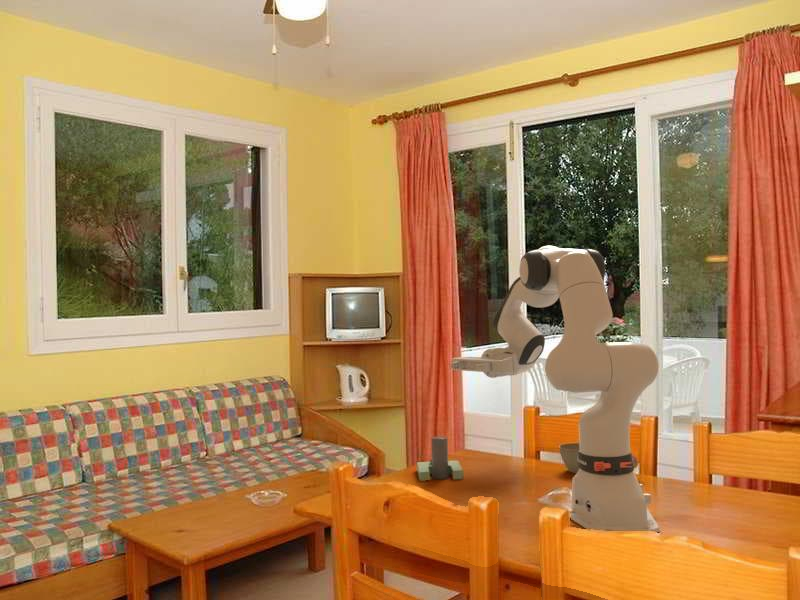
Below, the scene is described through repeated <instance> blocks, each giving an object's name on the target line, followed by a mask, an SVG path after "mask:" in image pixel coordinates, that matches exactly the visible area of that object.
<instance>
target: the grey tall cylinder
mask: <svg viewBox="0 0 800 600" xmlns="http://www.w3.org/2000/svg"><path fill="white" fill-rule="evenodd" d="M430 440H431V441H430V442H431V458H432V474H433V475H432V479H434V478H435V479H434V480H446V479H449V475H450V474H449V473H448V461H449V452H448V451H449V449H448V446H449V445H448V437H446V436H433V437H431V438H430Z"/></svg>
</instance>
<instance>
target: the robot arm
mask: <svg viewBox="0 0 800 600" xmlns="http://www.w3.org/2000/svg"><path fill="white" fill-rule="evenodd" d="M605 276H606V263H605V260H604V257H603V255H602V254H601V253H600V252H599V251H598V250H595V249H590V248H584V249H579V248H562V247H561V248H560V247H557V246H554V245H544V246H541V247H540V248H538V249H533V250H530V251H528V252H525V253H524V254H523V256H522V257H521V259H520V263H519V277H518V278H516V279H515V280H514V281H513V283H512V284H511V286H510V287H509V289H508V291H507V293H506V296H505V297H504V299H503V301H502V303H501V305H500V307H499V308H498V309H497V310H496V312H495V314H494V315H493V317H492V321H491V323H492V324H491V327H492V329H493V330H494V331H495V332H496V334H498V335H499V336H501V337H502V339H503V340H504V341H505V342H506V343H507V344H508V346H505V347H495V348H488V349H486V350H485V351H483V352H482V354H481V356H460V357H453V358H452V359H451V363H450V370H453V371H461V372H462V371H463V372H464V371H465V372H479V373H484V375H485V376H487V377H488V378H491V379H495V378H501V377H505V376H517V375H518V374H522V373H525V372H527V371H529V370H531V369H532V368H533V367H534V366H535V365H536V362H537V360H538V359H539V358H540V357H541V355H542V353H543V351H544V348H545V344H546V341H545V340H546V339H545V335H543V333H541V331H540V330H539V329H538V328H537V326H535V325H534V324H533V323H532V322H531V321H530V320H529V319H528V317H526V316H525V314H524V313H523V312H522V310H521V306H522V303H524V304H526V305H528V306H530V307H533V308H539V309H540V308H546V307H547V308H548V307H550V306H552V305H554V304H555V303H556V302H557V301H558V299H559V302H560V307H561V311H562V316H563V323H564V327H563V328H564V329H563V335H562V338H561V339H560V340H559V343H558V344H557V345H556V346H555V347H554V348H553V349H552V350H551V351H550V352H549V353H548V356H547V358H546V360H545V365H544V366H545V367H544V368H545V369H544V370H545V371H544V372H545V376H546V379H547V381H548V382H549V383H550V385H551V386H552V387H553V388H554V389H555V390H557V391H563V392H568V393H569V392H570V393H578V394H579V393H595V392H600V396H599V398H598V400H597V402H596V403H595V404H594V405H592V406H591V407H589V408H588V409H585V411H584V412H582V414H581V415H580V418H579V420H578V441H579V442H578V443H579V448H580V450H579V451H578V457H577V461H578V467H579V470H578V472H577V473H575V475H574V476H573V477H572V478H571V479H572V480H571V508H568V509H567V510H569V511H570V515H571V520H572V521H573V522H575V523H576V524H578V525H580V526H581V527H583V528H585V529H586V530H587V529H594V530H604V531H655V532H657V533H658V532H660V526H659V524H658V523H657V521H656V519H655V518H654V516H653V515H652V513H651V512H650V510H649V509H648V505H649V506H650V505H651V504H652V503H651V502H652V497H651V494H650V493H643V491H644V485H643V484H642V483H639V481H638V477H637V475H636V474H635V472H634V471H635V468H634V465H633V458H632V456H633V454H632V452H631V447H630V446H631V444H630V443H631V441H630V439H631V438H630V435H631V433H630V432H631V420H632V419H631V417H632V414H633V411H634V408H635V406H636V403H637V401H638V399H640V396H641V395H642V394H643V392H644V391H645V390H647V388H648V387H650V386H651V385H652V384H653V383H654V381H656V379H657V376H658V373H659V360H658V357H657V355H656V353H655V351H654V350H653V349H652V347H650V346H649V345H647V344H643V343H639V342H631V341H617V342H615V341H614V342H598V340H597V337H596V336H597V335H598V334H600V333H602V332H603V331H605V330H606V329H607V328H608V327H609V326H610V324H611V322H612V319H613V310H612V306H611V302H610V299H609V297H608V292H607V289H606V288H607V287H606V286H605V282H604V280H605Z"/></svg>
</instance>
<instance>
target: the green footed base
mask: <svg viewBox="0 0 800 600" xmlns="http://www.w3.org/2000/svg"><path fill="white" fill-rule="evenodd" d="M416 472H417V475H418V479H419V481H420V482H425V481H426V480H429V481H431V475H430V474H432V457H431V458H430V459H429V461H420V462H419V461H418V462H417V461H416ZM448 473H449V475H450V476H451V477H452V479H453V480H463V479H464V470H463V467H462V466H461V464H460V462H459V460H448ZM426 482H427V481H426Z"/></svg>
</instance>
